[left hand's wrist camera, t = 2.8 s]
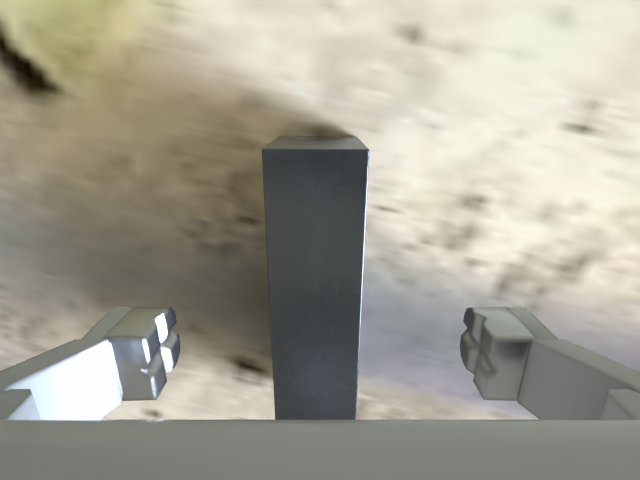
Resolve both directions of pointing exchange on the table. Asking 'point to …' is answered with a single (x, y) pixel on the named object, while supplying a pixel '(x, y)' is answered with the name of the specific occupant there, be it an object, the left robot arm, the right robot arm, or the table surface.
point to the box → (315, 272)
